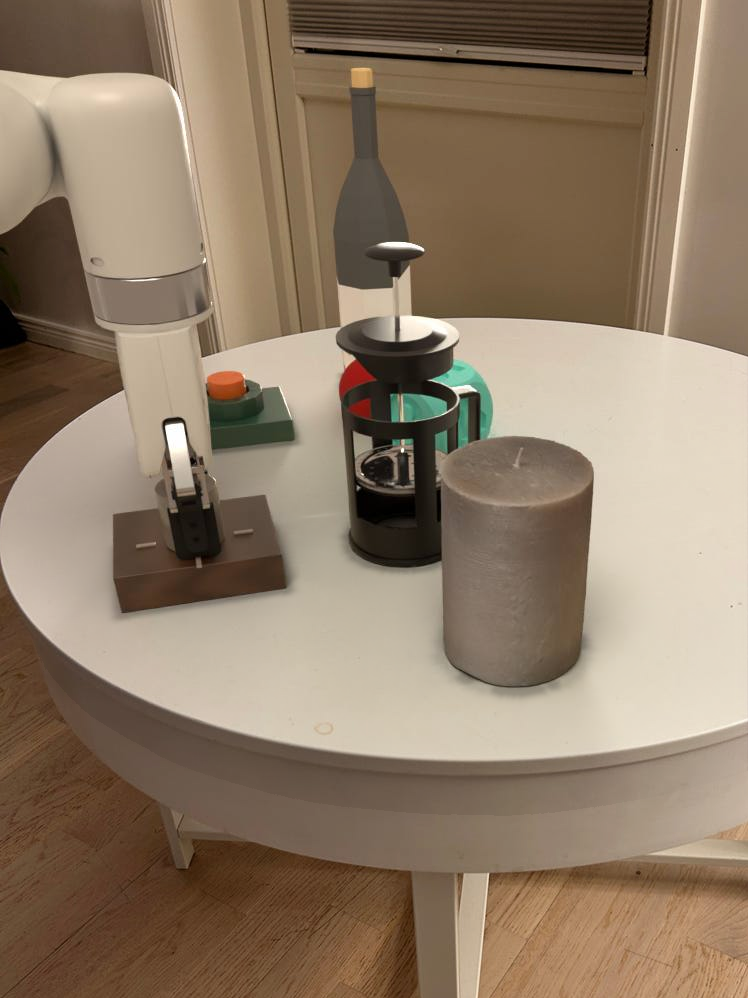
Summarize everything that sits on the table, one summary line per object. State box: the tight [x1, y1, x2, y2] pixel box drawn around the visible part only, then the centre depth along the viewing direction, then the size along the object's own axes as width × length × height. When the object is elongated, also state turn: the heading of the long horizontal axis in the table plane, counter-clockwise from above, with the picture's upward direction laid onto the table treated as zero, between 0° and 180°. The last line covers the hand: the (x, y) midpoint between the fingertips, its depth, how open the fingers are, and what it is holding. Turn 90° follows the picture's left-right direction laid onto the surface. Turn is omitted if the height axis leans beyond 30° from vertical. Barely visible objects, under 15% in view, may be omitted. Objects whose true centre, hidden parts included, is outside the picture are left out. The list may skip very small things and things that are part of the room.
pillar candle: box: [438, 435, 595, 687], centre depth 65 cm, size 10×10×15 cm
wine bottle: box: [332, 67, 413, 371], centre depth 102 cm, size 8×8×30 cm
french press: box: [335, 242, 481, 568], centre depth 75 cm, size 12×9×23 cm
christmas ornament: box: [338, 359, 376, 419], centre depth 97 cm, size 7×7×10 cm
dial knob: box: [154, 474, 225, 551], centre depth 74 cm, size 4×4×5 cm
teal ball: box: [390, 358, 494, 453], centre depth 93 cm, size 8×8×8 cm
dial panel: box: [112, 494, 287, 613], centre depth 77 cm, size 12×10×3 cm
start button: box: [206, 370, 247, 399], centre depth 97 cm, size 4×4×2 cm
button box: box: [205, 379, 295, 451], centre depth 98 cm, size 11×9×4 cm
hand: (196, 534), depth 75 cm, fingers open, 4 cm apart
